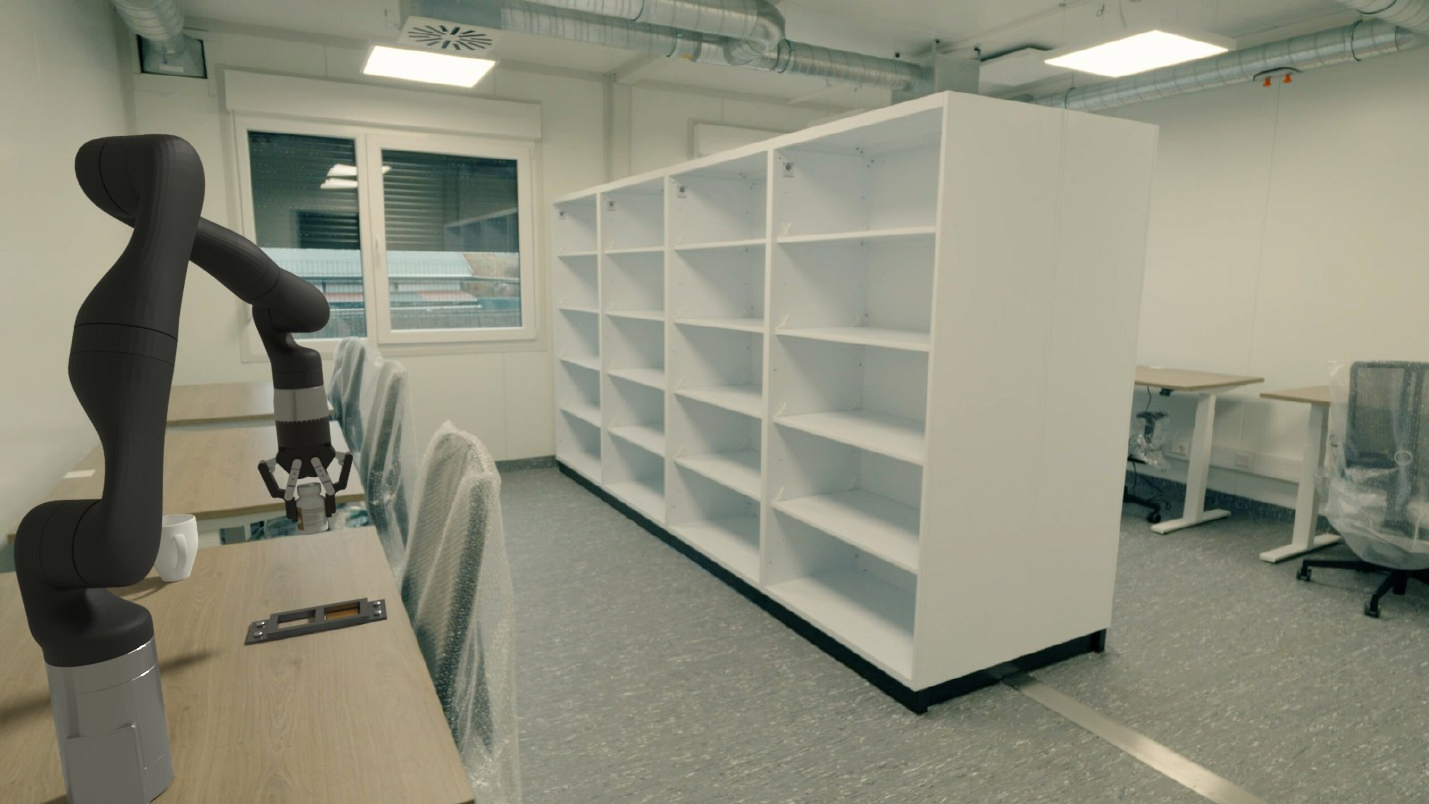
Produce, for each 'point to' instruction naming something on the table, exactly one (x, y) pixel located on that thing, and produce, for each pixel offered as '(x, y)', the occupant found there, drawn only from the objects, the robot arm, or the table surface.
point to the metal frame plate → (318, 619)
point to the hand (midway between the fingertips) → (312, 518)
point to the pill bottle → (311, 509)
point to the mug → (177, 547)
